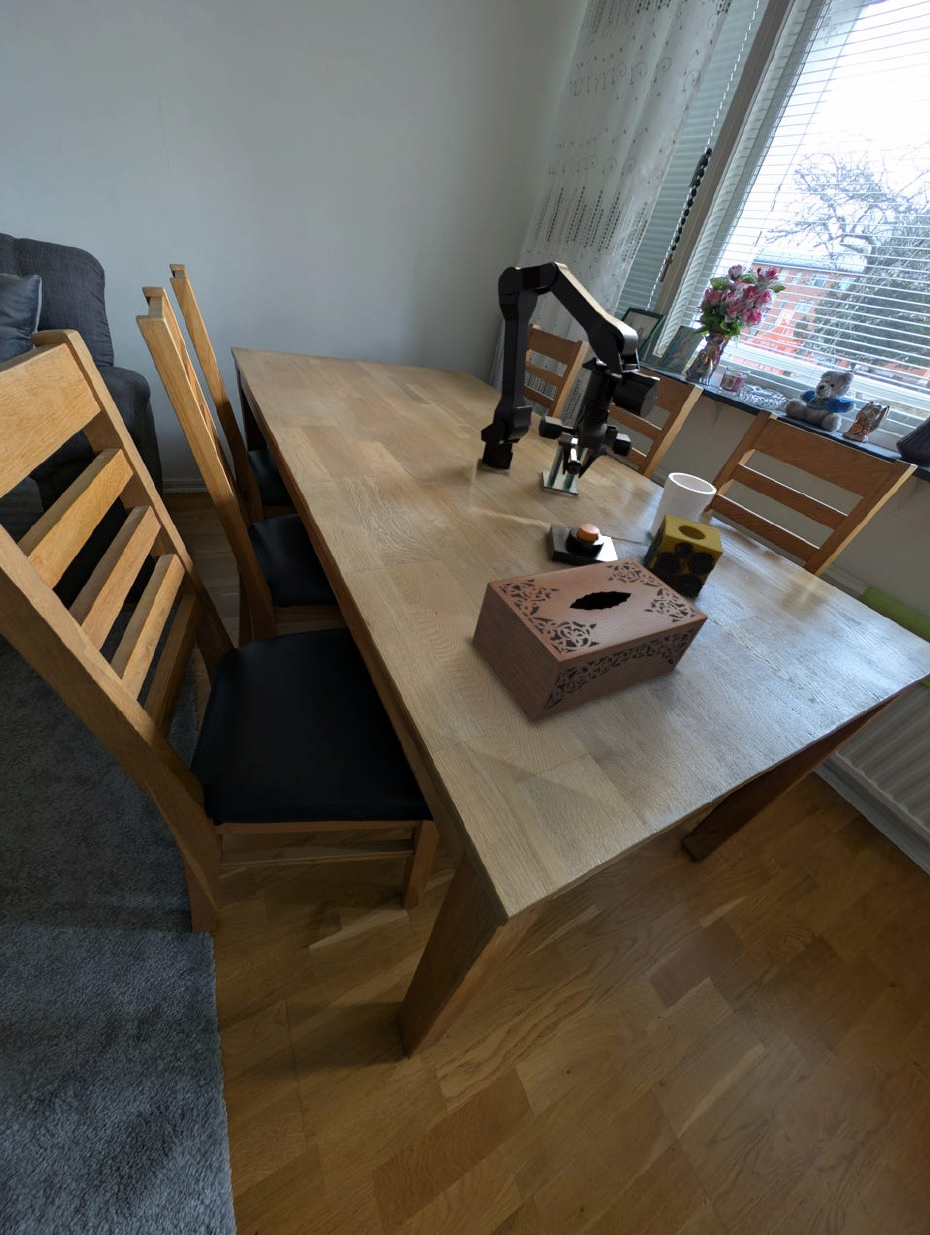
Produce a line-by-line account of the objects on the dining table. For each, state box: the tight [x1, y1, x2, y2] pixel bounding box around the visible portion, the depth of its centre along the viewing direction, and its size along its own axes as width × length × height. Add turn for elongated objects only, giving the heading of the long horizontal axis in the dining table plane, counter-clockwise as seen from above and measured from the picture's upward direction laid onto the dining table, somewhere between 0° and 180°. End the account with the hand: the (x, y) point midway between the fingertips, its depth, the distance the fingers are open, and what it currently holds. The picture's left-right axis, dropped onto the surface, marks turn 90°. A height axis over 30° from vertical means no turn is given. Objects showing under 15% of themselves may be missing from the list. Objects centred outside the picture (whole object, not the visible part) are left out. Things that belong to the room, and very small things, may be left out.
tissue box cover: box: [471, 557, 709, 723], centre depth 64 cm, size 26×14×10 cm, turn 120°
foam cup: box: [649, 472, 717, 538], centre depth 99 cm, size 10×9×13 cm
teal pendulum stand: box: [541, 443, 586, 496], centre depth 111 cm, size 10×8×12 cm
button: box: [577, 523, 601, 541], centre depth 88 cm, size 4×4×2 cm
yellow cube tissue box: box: [642, 514, 724, 599], centre depth 87 cm, size 10×10×10 cm
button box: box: [547, 524, 619, 567], centre depth 90 cm, size 12×10×4 cm
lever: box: [566, 438, 582, 476], centre depth 105 cm, size 13×3×3 cm, turn 175°
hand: (570, 475), depth 103 cm, fingers closed on lever, 3 cm apart
